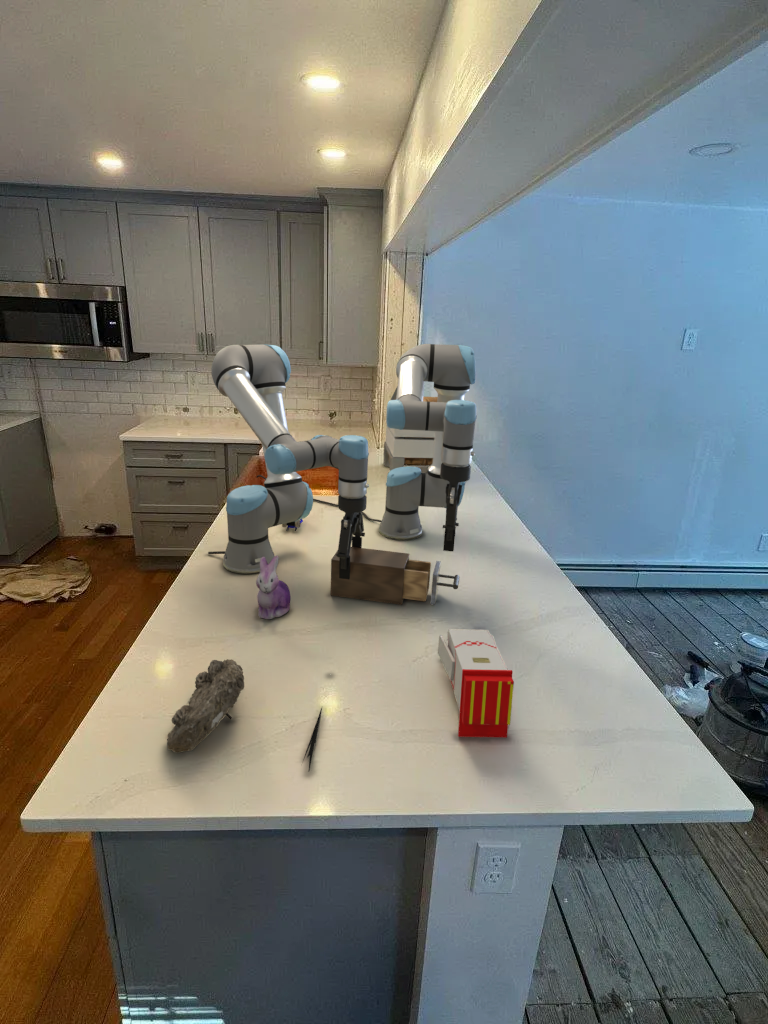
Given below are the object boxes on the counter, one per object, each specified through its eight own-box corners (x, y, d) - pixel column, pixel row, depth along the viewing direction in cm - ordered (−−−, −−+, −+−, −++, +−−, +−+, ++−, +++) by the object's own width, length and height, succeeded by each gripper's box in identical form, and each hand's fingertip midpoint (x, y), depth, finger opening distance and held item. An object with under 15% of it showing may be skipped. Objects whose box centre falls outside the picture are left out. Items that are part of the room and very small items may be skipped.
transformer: (382, 463, 289) (386, 382, 275) (445, 464, 293) (451, 384, 279) (390, 482, 257) (394, 392, 243) (460, 483, 261) (468, 394, 247)
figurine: (261, 624, 140) (259, 569, 134) (250, 605, 148) (248, 552, 143) (298, 616, 144) (297, 562, 139) (285, 598, 152) (284, 547, 147)
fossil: (192, 660, 117) (244, 628, 112) (224, 691, 120) (276, 661, 115) (142, 746, 98) (202, 712, 93) (182, 779, 101) (242, 748, 96)
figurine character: (300, 537, 196) (305, 517, 210) (300, 518, 193) (305, 499, 206) (281, 536, 196) (287, 517, 209) (280, 517, 193) (286, 498, 206)
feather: (331, 679, 122) (336, 673, 122) (307, 777, 96) (313, 769, 95) (324, 675, 122) (329, 669, 121) (298, 772, 95) (304, 764, 95)
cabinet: (407, 588, 161) (409, 553, 158) (401, 604, 152) (404, 568, 148) (340, 579, 165) (340, 545, 161) (330, 595, 155) (331, 559, 152)
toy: (488, 613, 130) (523, 677, 101) (484, 667, 133) (517, 744, 104) (435, 612, 130) (455, 676, 101) (432, 666, 133) (451, 743, 103)
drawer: (458, 592, 158) (461, 563, 155) (455, 607, 150) (458, 577, 147) (373, 581, 162) (374, 553, 159) (366, 596, 154) (367, 566, 151)
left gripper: (355, 511, 138) (352, 589, 145) (376, 483, 161) (373, 551, 168) (325, 508, 139) (324, 586, 146) (350, 480, 162) (348, 548, 169)
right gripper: (469, 471, 135) (461, 561, 143) (472, 458, 147) (464, 542, 155) (438, 468, 136) (431, 558, 144) (443, 456, 148) (436, 539, 156)
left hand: (350, 567), depth 157 cm, fingers open, 13 cm apart
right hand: (448, 550), depth 150 cm, fingers closed
